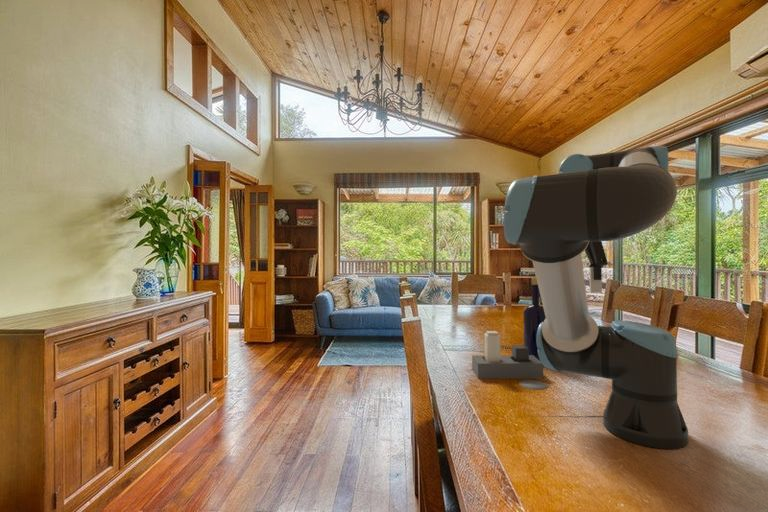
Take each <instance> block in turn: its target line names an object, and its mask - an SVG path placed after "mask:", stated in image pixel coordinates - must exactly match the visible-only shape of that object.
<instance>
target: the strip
mask: <svg viewBox="0 0 768 512" xmlns="http://www.w3.org/2000/svg"><path fill="white" fill-rule="evenodd" d="M471 365H472V366H471V371H473V373H474V375H475V376H476V378H477V379H544V365H543V364H542V363H541V361H540V360H538V359H537V358H536V357H534V356H533V355H529V348H528V347H526V346H525V345H524V344H523V345H522V344H514V345H513V344H512V345H511V355H510V354H507V355H505V354H503V355H502V354H500V362H485V354H483V355H477V354H476V355H475V354H474V355H471Z"/></svg>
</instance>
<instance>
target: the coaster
mask: <svg viewBox="0 0 768 512" xmlns="http://www.w3.org/2000/svg"><path fill="white" fill-rule="evenodd" d="M518 385H519V386H521V387H523V388H524V389H528V390H533V391H544V390H547V389H549V384H547V383H545V382H543V381H539V380H535V379H524V380H523V379H522V380H521V381H519V382H518Z"/></svg>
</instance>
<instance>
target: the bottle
mask: <svg viewBox="0 0 768 512" xmlns="http://www.w3.org/2000/svg"><path fill="white" fill-rule="evenodd" d="M530 287H531V304H530V305H527V306H526V307H525V308H524V309H523V345H525V346H526V347H528V348H529V355H533V356H534V357H536V358H537V359H538V360H540V359H539V356H538V347H537V330H538V327H539V325H540V323H542V322H544V320H545V319H546V316H545V312H544V308H543V305H541V304H540V291H539V287H538V283H537V279H536V277H531V284H530Z"/></svg>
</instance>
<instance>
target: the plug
mask: <svg viewBox="0 0 768 512" xmlns="http://www.w3.org/2000/svg"><path fill="white" fill-rule="evenodd" d="M483 334H484V355H485V362H500V355H501V335H500V334H499V332H497V331H496V330H486V331H485V333H483Z"/></svg>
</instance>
